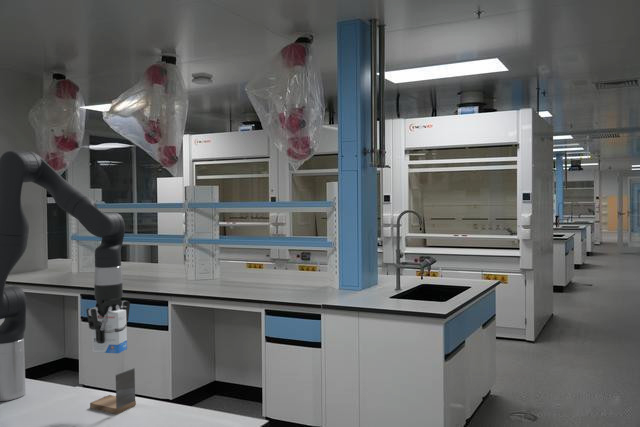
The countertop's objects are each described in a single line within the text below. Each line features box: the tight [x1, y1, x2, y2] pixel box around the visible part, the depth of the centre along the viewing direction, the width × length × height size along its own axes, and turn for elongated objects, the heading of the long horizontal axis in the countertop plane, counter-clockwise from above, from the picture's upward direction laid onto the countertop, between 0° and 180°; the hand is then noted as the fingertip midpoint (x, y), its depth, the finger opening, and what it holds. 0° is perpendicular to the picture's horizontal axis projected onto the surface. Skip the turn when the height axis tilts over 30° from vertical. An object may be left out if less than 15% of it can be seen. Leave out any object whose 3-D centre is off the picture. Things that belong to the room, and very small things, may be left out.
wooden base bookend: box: [89, 367, 137, 415], centre depth 160 cm, size 11×7×11 cm, turn 63°
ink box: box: [91, 310, 128, 354], centre depth 160 cm, size 8×5×12 cm, turn 78°
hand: (109, 340), depth 160 cm, fingers closed on ink box, 5 cm apart
